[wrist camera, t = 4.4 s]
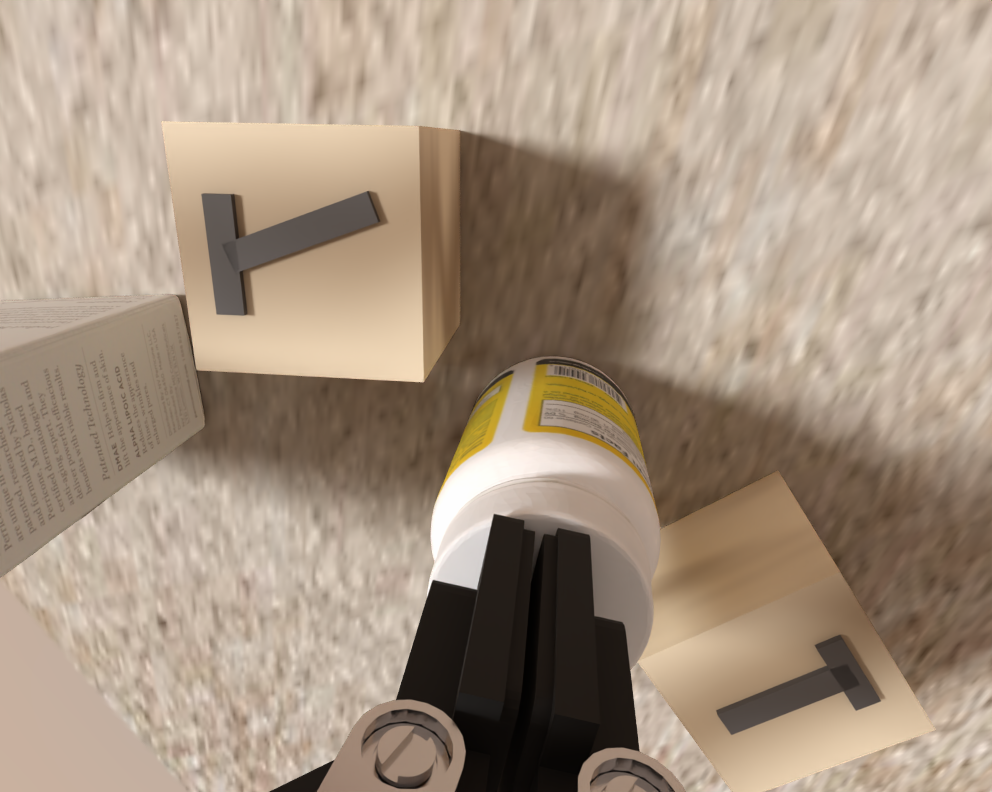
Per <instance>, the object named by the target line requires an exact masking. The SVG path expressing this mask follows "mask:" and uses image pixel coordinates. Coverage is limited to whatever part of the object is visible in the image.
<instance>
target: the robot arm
mask: <svg viewBox="0 0 992 792" xmlns="http://www.w3.org/2000/svg"><path fill="white" fill-rule="evenodd" d="M534 541H535V531H531V530H526V529H524V520H520V519H516V518H511V517H507V516H502V515H498V514H494V515H493V519H492V523H491V528H490V532H489V537H488V541H487V546H486V550H485V555H484V559H483V564H482V568H481V573H480V577H479V582H478V586H477V589H472V588H468V587H463V586H459V585H454V584H450V583H445V582H441V581H436V580H433V581H432V583H431V586H430V590H429V593H428V596H427V600H426V603H425V606H424V609H423V613H422V616H421V619H420V623H419V626H418V629H417V633H416V636H415V639H414V642H413V646H412V649H411V652H410V656H409V659H408V662H407V666H406V669H405V672H404V675H403V679H402V682H401V685H400V689H399V692H398V695H397V699H396V700H393V701H389V702H386V703H383V704H380V705H377V706H375V707H374V708H372V709H371V710H369V711H368V712H366V713H365V714H363V716H362V717H361V718H360V719H359V720H358V722H357V723H356V724H355V725H354V727H353V728H352V730H351V732H350V734H349V736H348V737H347V739H346V741H345V743H344V744H343V746H342V748H341V750H340V751H339V753H338V755H337V757H336V759H335V760H333V761H331V762H329V763H327V764H325V765H323V766H321V767H319V768H317V769H315V770H313V771H311V772H309V773H307V774H305V775H303V776H301V777H299V778H297V779H294V780H292V781H290V782H288V783H286V784H284V785H282V786H280V787H278V788H276V789H274V790H272V791H270V792H686V791H685V789H684V787H683V786H682V784H681V783H680V782H679V781H678V780H677V778H676V777H675V776H674V775H673V773H672V772H671V771H669V770H668V769H667V768H666V767H664V766H663V765H662V764H661V763H659V762H658V761H657V760H655V759H653V758H651V757H649V756H647V755H645V754H643V753H641V752H639V743H638V734H637V725H636V717H635V708H634V699H633V690H632V681H631V672H630V664H629V655H628V646H627V637H626V630H625V625H624V624H623V622H620V621H616V620H611V619H607V618H602V617H598V616H594V598H593V579H592V560H591V541H590V535H588V534H584V533H579V532H575V531H570V530H566V529H561V528H558V529H557V531H556V534H555V536H553V535H549V534H544V535H543V538H542V542H541V546H540V549H539V553H538V557H537V561H536V565H535V569H534V573H533V577H532V580H531V576H532V564H533V553H534Z"/></svg>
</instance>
